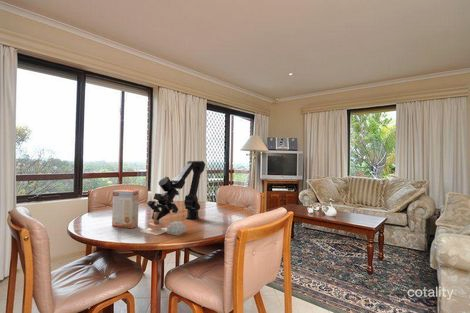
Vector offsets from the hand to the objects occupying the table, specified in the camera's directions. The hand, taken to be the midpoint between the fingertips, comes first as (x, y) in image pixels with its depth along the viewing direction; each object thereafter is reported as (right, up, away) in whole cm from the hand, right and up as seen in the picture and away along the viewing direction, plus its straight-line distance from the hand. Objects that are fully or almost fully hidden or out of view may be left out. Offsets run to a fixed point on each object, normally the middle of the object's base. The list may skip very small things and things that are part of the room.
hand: (154, 219), depth 136 cm
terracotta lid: (+1, -5, +1) cm, 5 cm away
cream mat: (0, -7, +1) cm, 7 cm away
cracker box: (-20, -6, +9) cm, 23 cm away
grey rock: (+12, -7, -2) cm, 14 cm away
